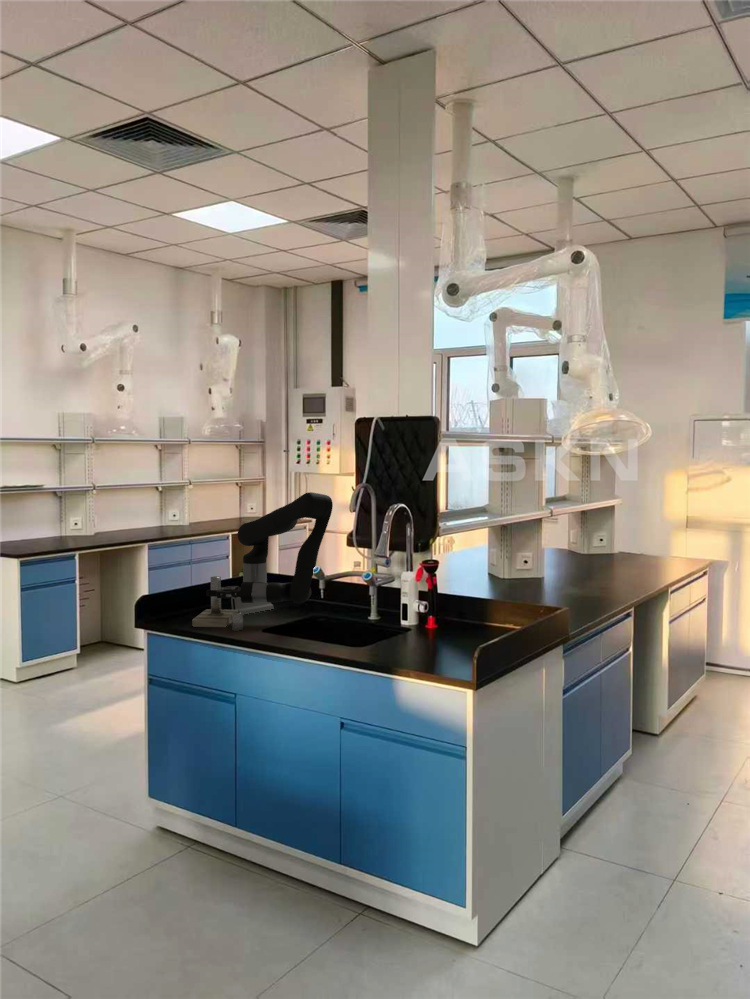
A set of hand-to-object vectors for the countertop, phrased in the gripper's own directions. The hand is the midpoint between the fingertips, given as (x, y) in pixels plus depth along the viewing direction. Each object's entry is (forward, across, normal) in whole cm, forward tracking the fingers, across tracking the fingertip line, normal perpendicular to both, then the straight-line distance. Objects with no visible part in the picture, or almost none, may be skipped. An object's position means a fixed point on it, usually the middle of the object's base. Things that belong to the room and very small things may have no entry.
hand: (208, 592), depth 283 cm
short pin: (-14, +13, +11) cm, 22 cm away
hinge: (-12, -19, +11) cm, 25 cm away
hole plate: (-3, 0, +11) cm, 11 cm away
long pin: (-3, 0, +8) cm, 8 cm away
